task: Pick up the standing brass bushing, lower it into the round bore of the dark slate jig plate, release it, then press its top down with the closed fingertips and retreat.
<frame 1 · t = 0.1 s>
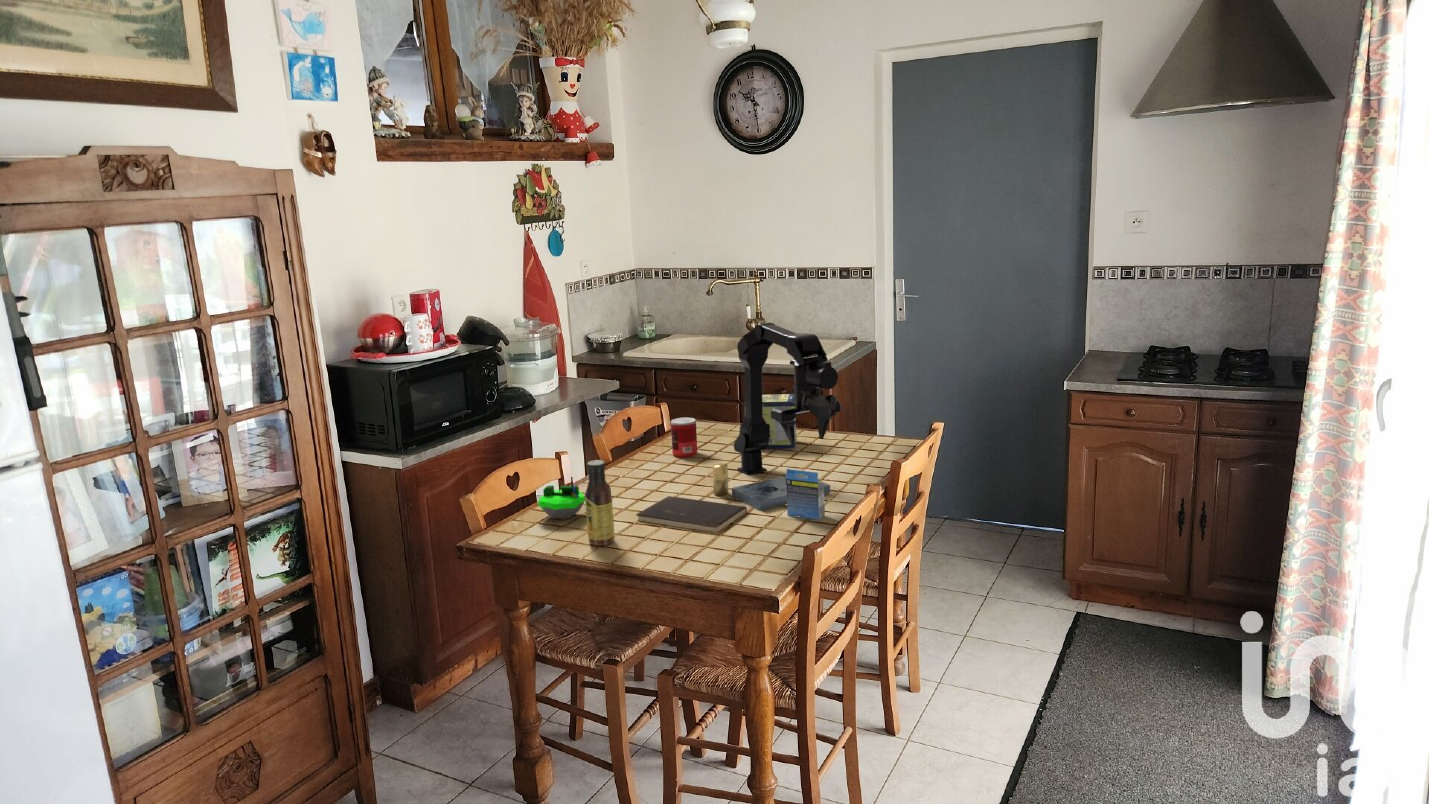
hand: (807, 441, 247), 15 cm above the table, fingers open, 9 cm apart
protein box: (771, 445, 301), on the table
green floating island model: (562, 517, 242), on the table
canned food: (685, 455, 295), on the table
label tape box: (806, 516, 235), on the table
hardcover book: (692, 519, 238), on the table
jig: (781, 495, 251), on the table
bushing: (721, 494, 255), on the table
sauce bottle: (601, 543, 223), on the table
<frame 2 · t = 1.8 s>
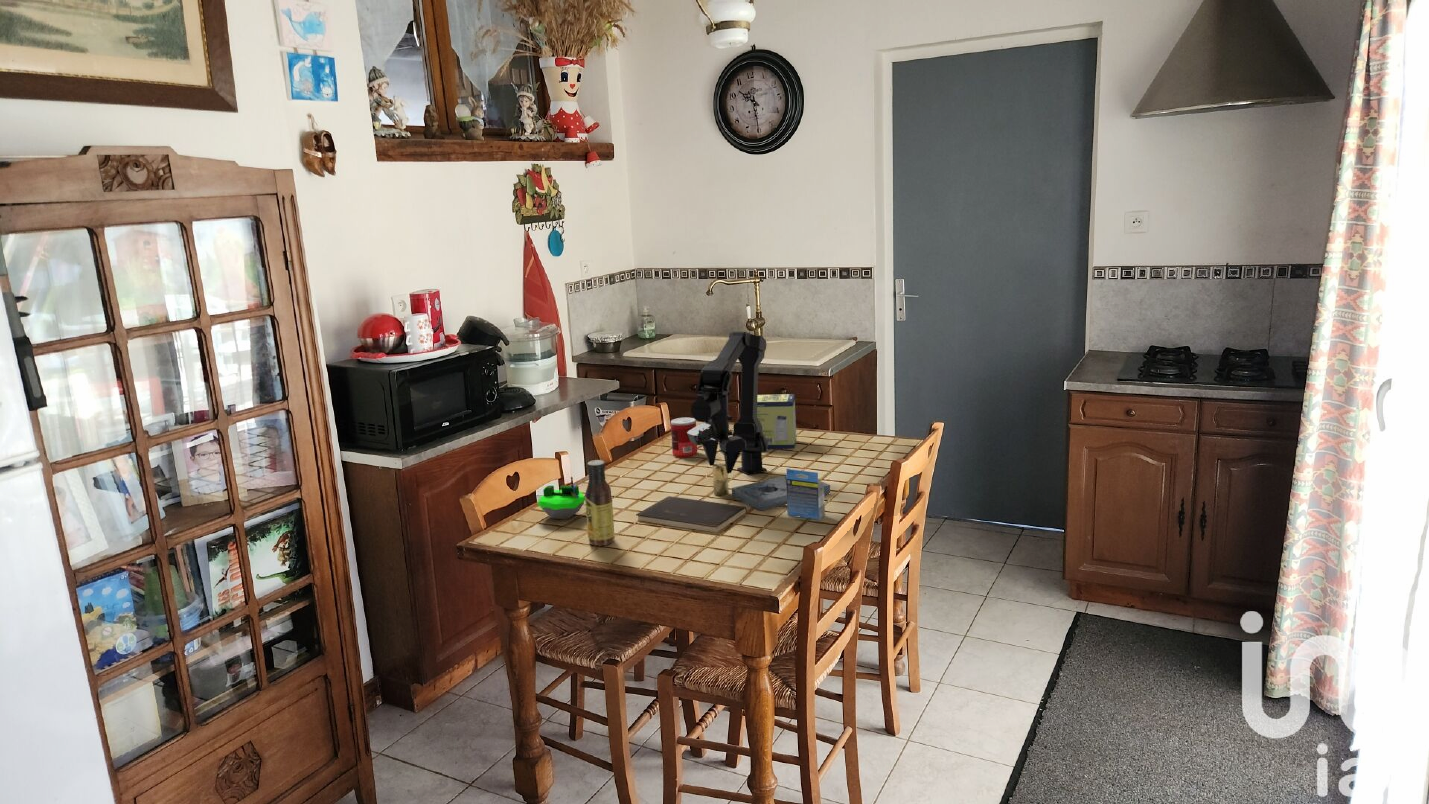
hand: (720, 469, 253), 7 cm above the table, fingers open, 9 cm apart
nothing on the table moved.
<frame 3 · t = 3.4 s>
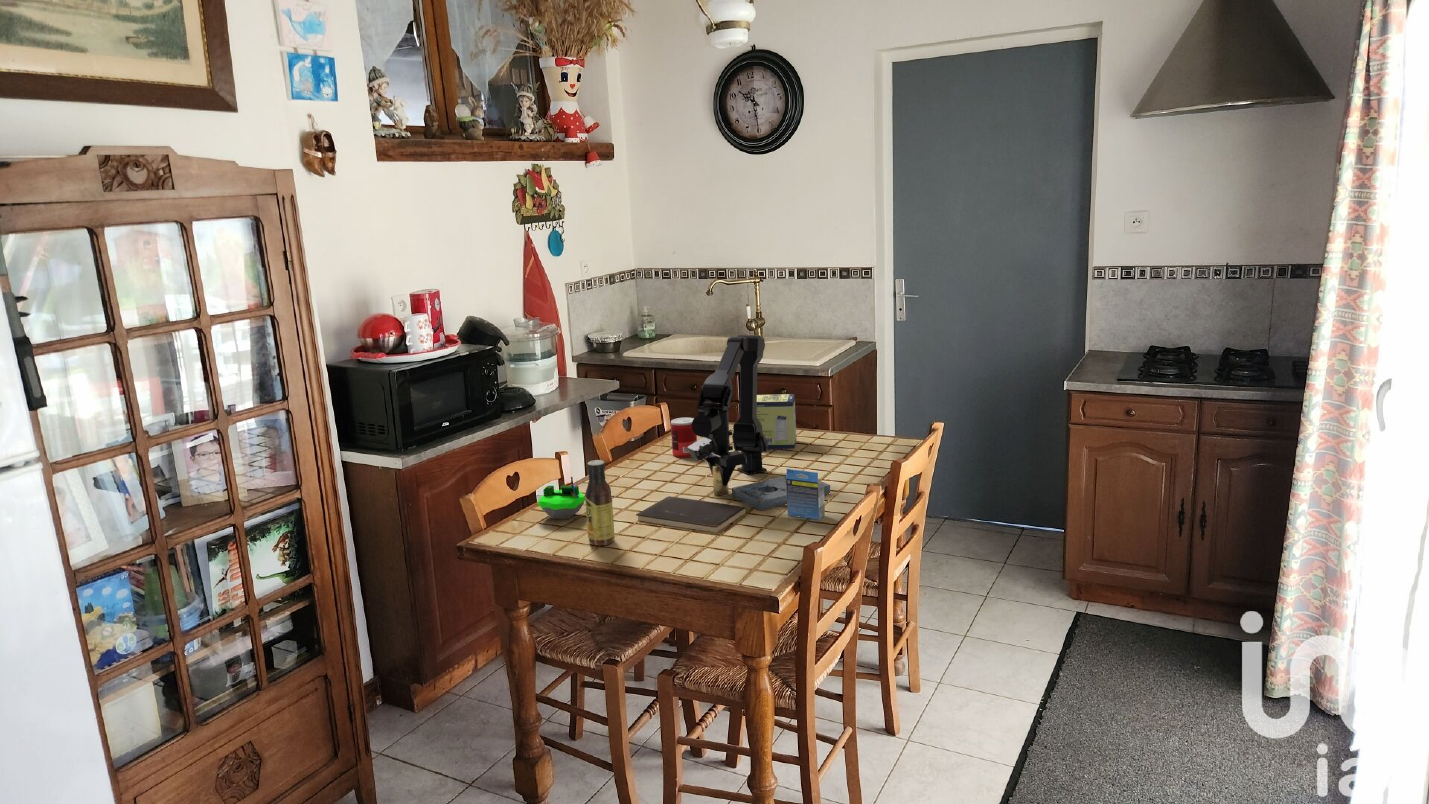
hand: (720, 483, 254), 3 cm above the table, fingers closed on bushing, 4 cm apart
bushing: (721, 494, 255), on the table, touching gripper
everything else where it was.
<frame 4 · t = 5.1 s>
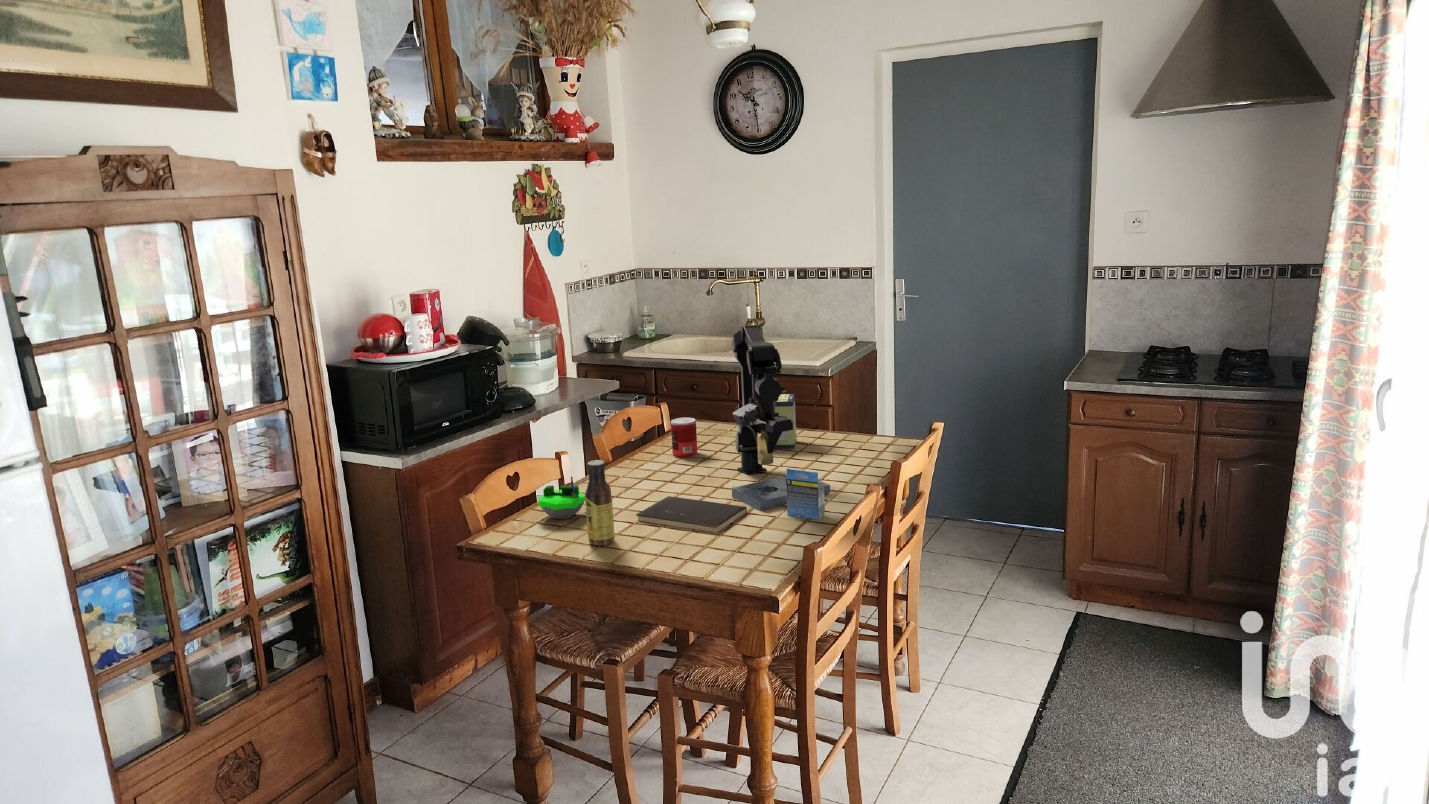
hand: (765, 451, 246), 13 cm above the table, fingers closed on bushing, 4 cm apart
bushing: (765, 462, 247), point 10 cm above the table, touching gripper
everything else where it was.
when the fingers open (4 cm above the table, at t = 7.1 s): bushing drops 1 cm, resting in jig.
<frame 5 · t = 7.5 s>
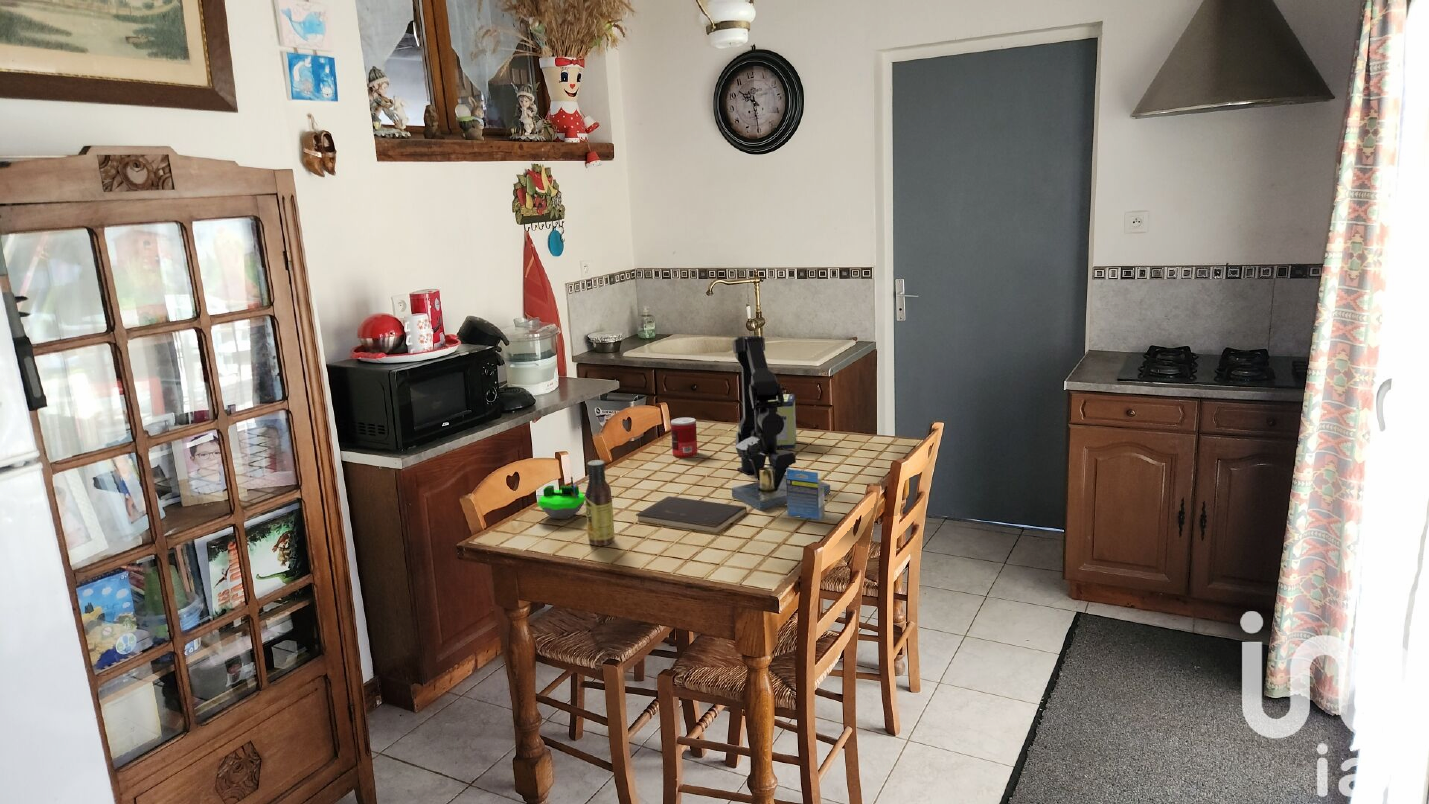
hand: (767, 483, 248), 4 cm above the table, fingers open, 8 cm apart
bushing: (768, 498, 249), resting in jig
everything else where it was.
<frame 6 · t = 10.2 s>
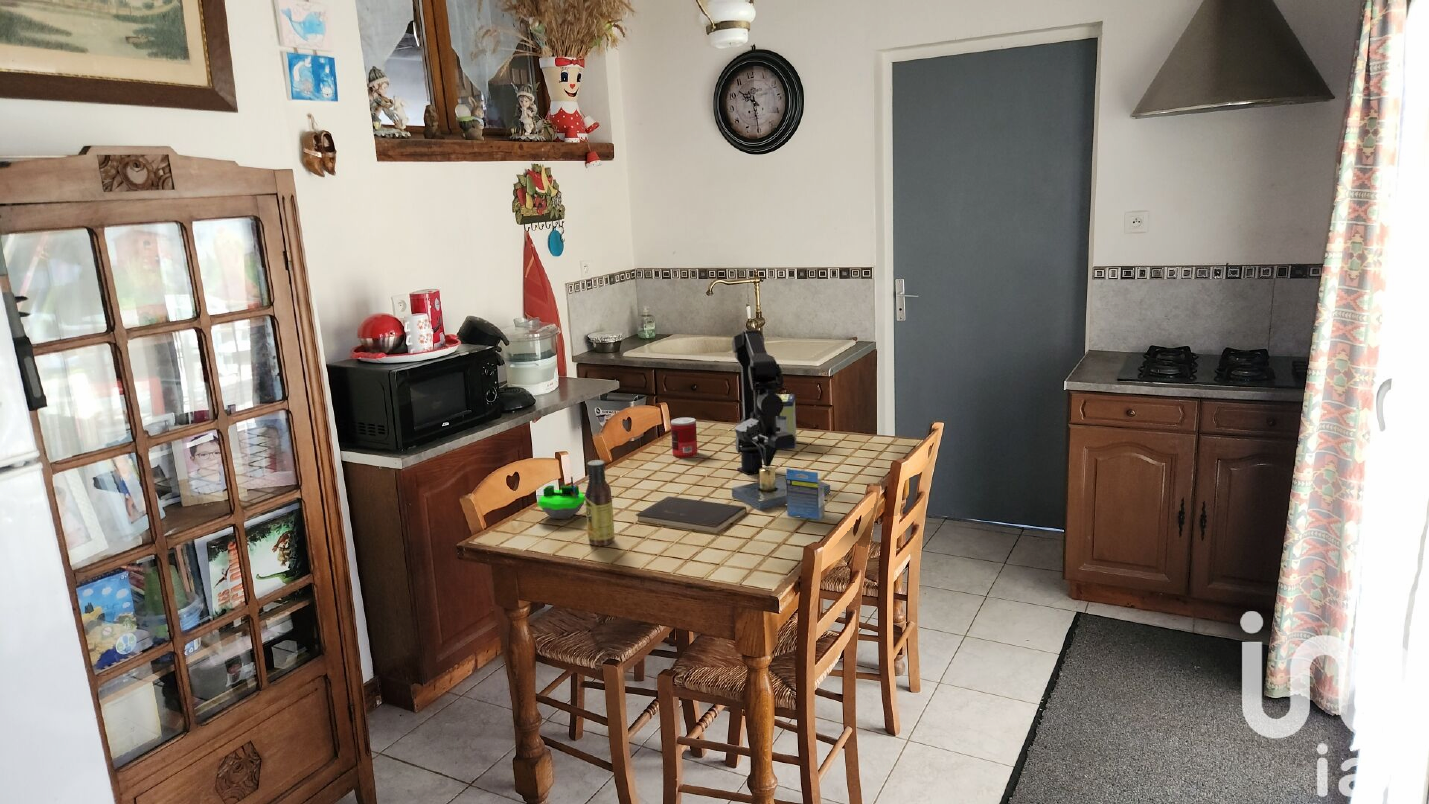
hand: (767, 466, 247), 9 cm above the table, fingers closed
nothing on the table moved.
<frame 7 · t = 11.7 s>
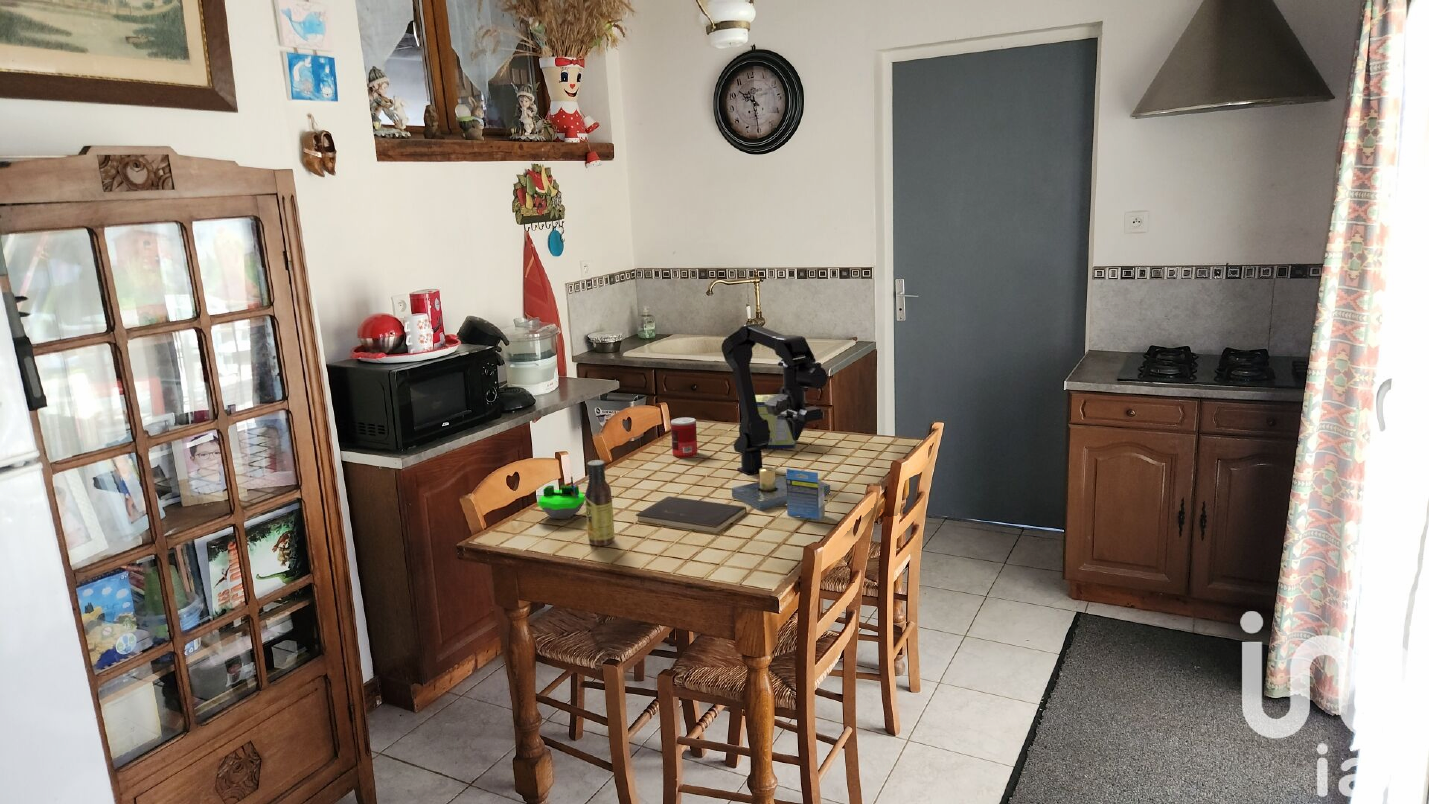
hand: (795, 440, 255), 13 cm above the table, fingers closed
nothing on the table moved.
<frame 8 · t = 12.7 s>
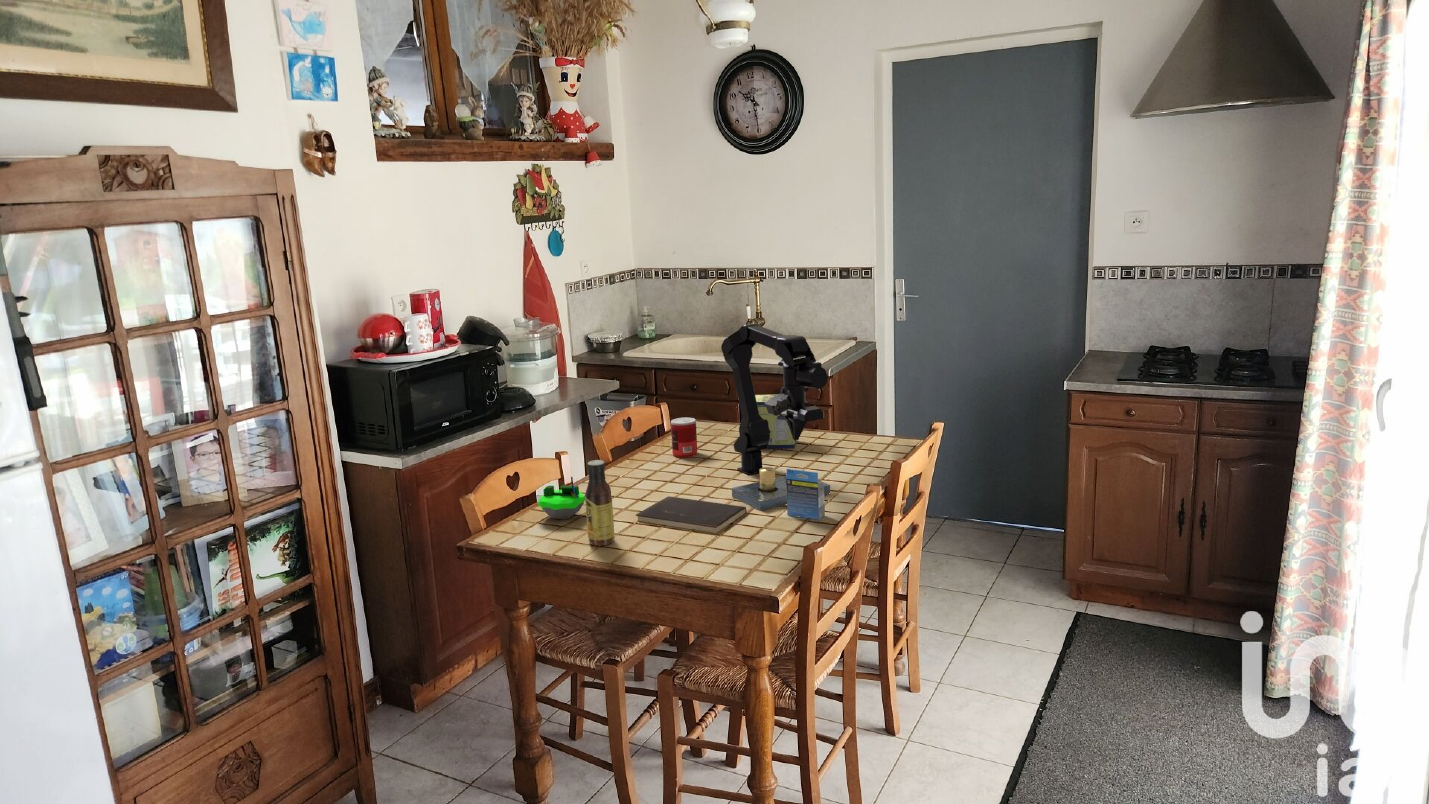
hand: (795, 440, 255), 13 cm above the table, fingers closed
nothing on the table moved.
at the end: bushing 0.1 cm from the target spot on the jig, point 0.0 cm above the jig's base; bushing tilted 0°; the gripper is holding nothing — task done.
